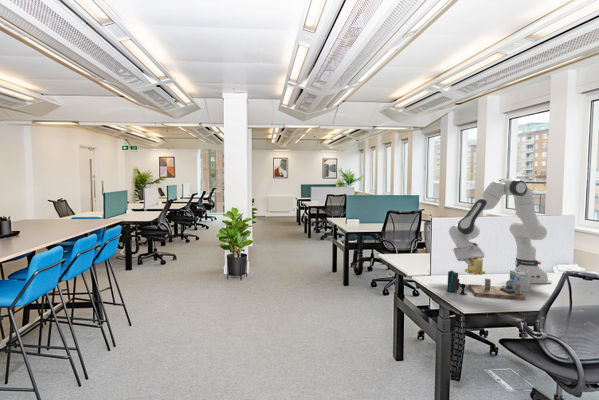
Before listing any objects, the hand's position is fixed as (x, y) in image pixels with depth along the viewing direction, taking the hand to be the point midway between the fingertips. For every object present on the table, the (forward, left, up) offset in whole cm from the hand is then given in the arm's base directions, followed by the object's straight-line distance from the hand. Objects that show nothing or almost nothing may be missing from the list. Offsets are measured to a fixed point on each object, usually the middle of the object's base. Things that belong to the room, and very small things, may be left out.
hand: (475, 265), depth 241 cm
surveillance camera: (+15, +22, -13) cm, 29 cm away
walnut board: (-7, +17, -13) cm, 22 cm away
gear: (-15, +16, -11) cm, 24 cm away
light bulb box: (-25, +2, -13) cm, 28 cm away
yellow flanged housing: (0, -1, -5) cm, 5 cm away
